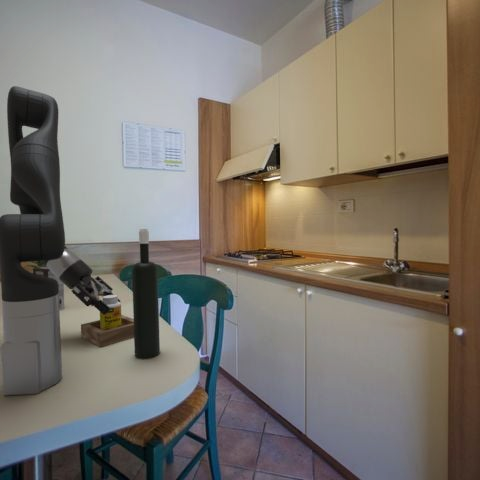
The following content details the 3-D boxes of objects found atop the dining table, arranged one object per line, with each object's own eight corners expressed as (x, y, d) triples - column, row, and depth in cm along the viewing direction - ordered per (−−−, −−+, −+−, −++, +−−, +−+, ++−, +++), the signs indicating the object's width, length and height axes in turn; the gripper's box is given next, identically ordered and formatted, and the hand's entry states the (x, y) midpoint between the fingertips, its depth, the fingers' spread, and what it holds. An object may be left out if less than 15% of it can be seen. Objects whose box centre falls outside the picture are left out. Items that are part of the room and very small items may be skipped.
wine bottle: (150, 347, 78) (147, 229, 77) (164, 352, 74) (161, 228, 73) (129, 354, 74) (126, 229, 72) (143, 361, 70) (139, 229, 69)
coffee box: (34, 310, 116) (32, 267, 115) (51, 306, 122) (49, 265, 121) (48, 313, 112) (46, 269, 111) (65, 308, 118) (63, 266, 117)
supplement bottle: (102, 337, 83) (101, 299, 83) (98, 331, 88) (97, 295, 87) (123, 332, 86) (122, 296, 86) (119, 327, 91) (118, 293, 91)
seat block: (142, 334, 88) (142, 322, 88) (100, 347, 79) (100, 333, 79) (121, 326, 96) (121, 314, 95) (81, 336, 87) (80, 324, 86)
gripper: (66, 261, 79) (114, 304, 80) (90, 256, 93) (130, 293, 94) (45, 283, 78) (93, 325, 80) (72, 274, 93) (112, 310, 94)
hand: (113, 308), depth 87 cm, fingers open, 8 cm apart
